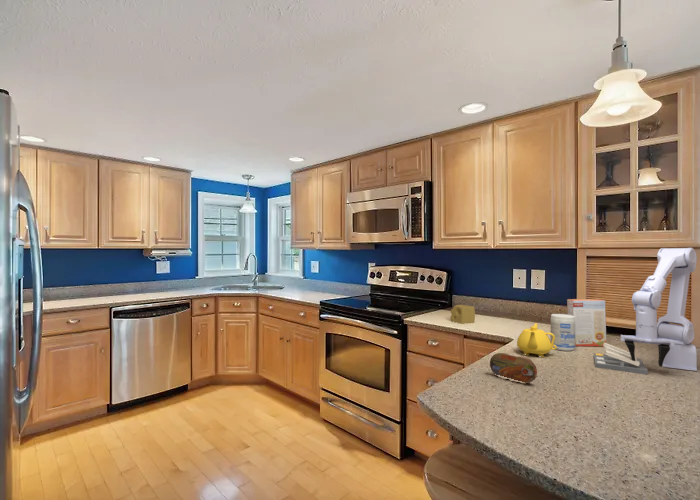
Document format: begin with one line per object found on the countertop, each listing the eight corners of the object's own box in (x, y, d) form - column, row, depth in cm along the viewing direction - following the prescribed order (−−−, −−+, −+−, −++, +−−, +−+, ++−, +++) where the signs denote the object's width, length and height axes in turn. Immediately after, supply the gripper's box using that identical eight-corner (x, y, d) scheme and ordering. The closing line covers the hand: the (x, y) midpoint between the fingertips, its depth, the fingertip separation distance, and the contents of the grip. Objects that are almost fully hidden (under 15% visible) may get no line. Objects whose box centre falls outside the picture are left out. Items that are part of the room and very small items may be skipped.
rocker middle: (634, 361, 135) (636, 358, 135) (635, 362, 133) (637, 359, 132) (604, 348, 140) (605, 345, 140) (604, 349, 138) (605, 347, 137)
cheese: (450, 321, 225) (450, 305, 225) (463, 320, 229) (463, 304, 229) (462, 324, 215) (461, 307, 215) (475, 322, 220) (475, 306, 220)
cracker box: (598, 343, 168) (598, 298, 168) (606, 347, 162) (606, 300, 162) (567, 343, 170) (566, 298, 170) (573, 346, 164) (573, 300, 164)
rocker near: (637, 364, 130) (638, 361, 129) (638, 366, 127) (639, 363, 127) (604, 353, 135) (605, 350, 135) (605, 354, 133) (606, 351, 132)
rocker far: (632, 357, 140) (633, 354, 140) (633, 358, 138) (634, 355, 137) (602, 345, 145) (604, 342, 145) (603, 346, 143) (604, 343, 142)
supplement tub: (563, 352, 154) (563, 317, 154) (545, 347, 163) (545, 314, 163) (581, 350, 157) (580, 316, 157) (562, 345, 166) (562, 313, 166)
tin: (489, 375, 125) (489, 351, 126) (494, 373, 128) (493, 349, 128) (534, 387, 114) (534, 360, 114) (538, 385, 116) (538, 358, 116)
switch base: (640, 362, 139) (640, 354, 139) (647, 374, 126) (647, 365, 126) (593, 356, 147) (593, 348, 147) (595, 367, 134) (595, 358, 134)
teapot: (556, 363, 139) (556, 333, 139) (514, 357, 146) (514, 329, 147) (557, 351, 156) (557, 324, 156) (519, 346, 164) (519, 321, 164)
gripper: (621, 325, 128) (622, 363, 128) (676, 329, 120) (676, 370, 120) (619, 321, 134) (620, 358, 134) (671, 326, 126) (671, 365, 126)
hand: (646, 364), depth 127 cm, fingers open, 7 cm apart
